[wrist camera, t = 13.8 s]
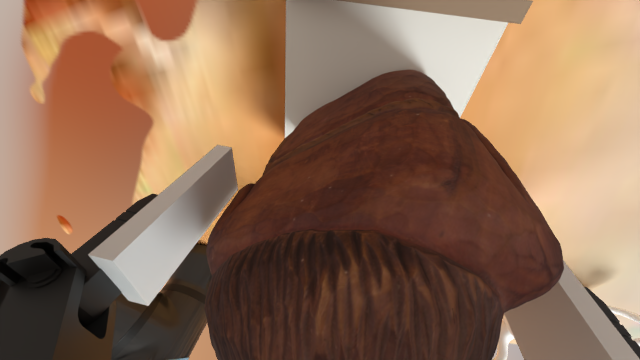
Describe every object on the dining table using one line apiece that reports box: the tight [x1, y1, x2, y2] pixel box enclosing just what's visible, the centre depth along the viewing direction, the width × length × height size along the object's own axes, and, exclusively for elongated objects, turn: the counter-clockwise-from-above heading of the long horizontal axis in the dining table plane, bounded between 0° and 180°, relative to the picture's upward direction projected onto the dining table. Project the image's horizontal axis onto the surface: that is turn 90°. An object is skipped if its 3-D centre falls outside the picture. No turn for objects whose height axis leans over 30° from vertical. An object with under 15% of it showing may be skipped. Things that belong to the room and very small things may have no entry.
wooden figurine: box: [204, 69, 564, 360], centre depth 12 cm, size 12×6×18 cm, turn 120°
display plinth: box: [285, 0, 533, 138], centre depth 21 cm, size 14×18×10 cm
